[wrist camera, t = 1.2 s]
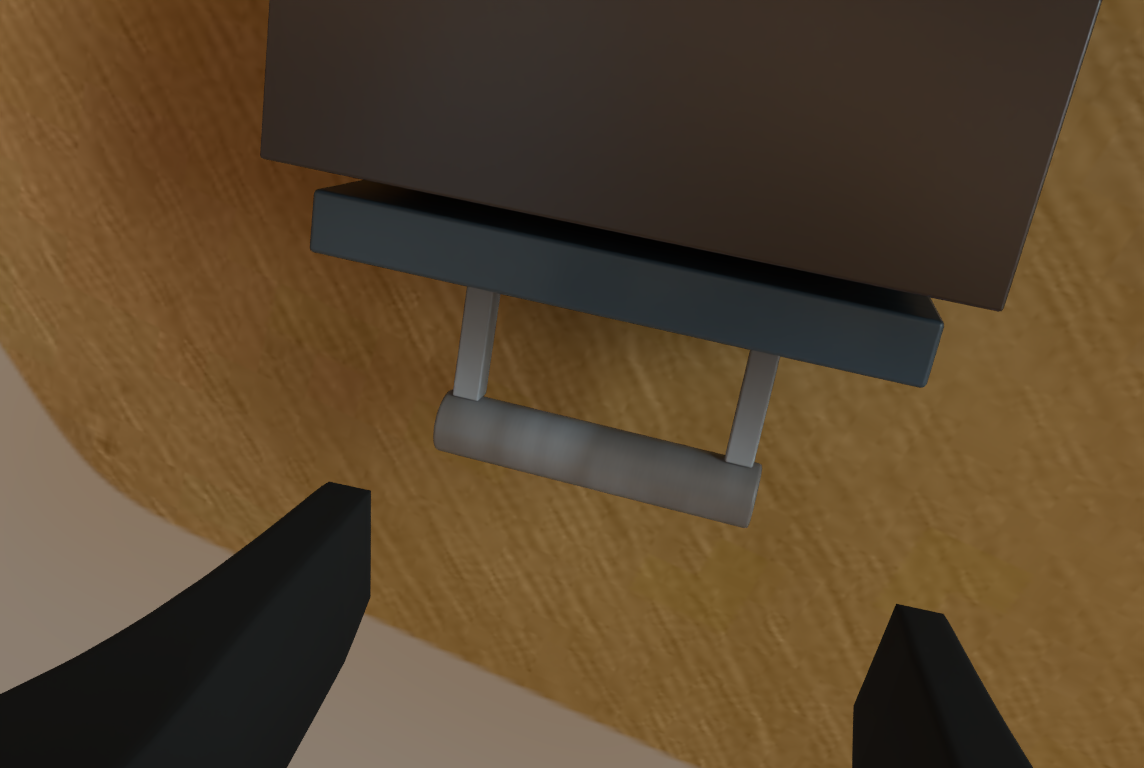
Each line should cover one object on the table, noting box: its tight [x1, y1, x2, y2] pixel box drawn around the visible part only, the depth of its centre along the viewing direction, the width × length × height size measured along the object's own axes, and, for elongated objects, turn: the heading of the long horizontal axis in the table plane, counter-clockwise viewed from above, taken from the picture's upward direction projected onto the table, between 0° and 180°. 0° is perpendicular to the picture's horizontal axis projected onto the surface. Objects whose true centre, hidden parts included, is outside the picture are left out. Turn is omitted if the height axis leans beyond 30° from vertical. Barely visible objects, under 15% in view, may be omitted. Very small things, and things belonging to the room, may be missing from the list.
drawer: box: [310, 180, 944, 528], centre depth 19 cm, size 18×11×6 cm, turn 171°
